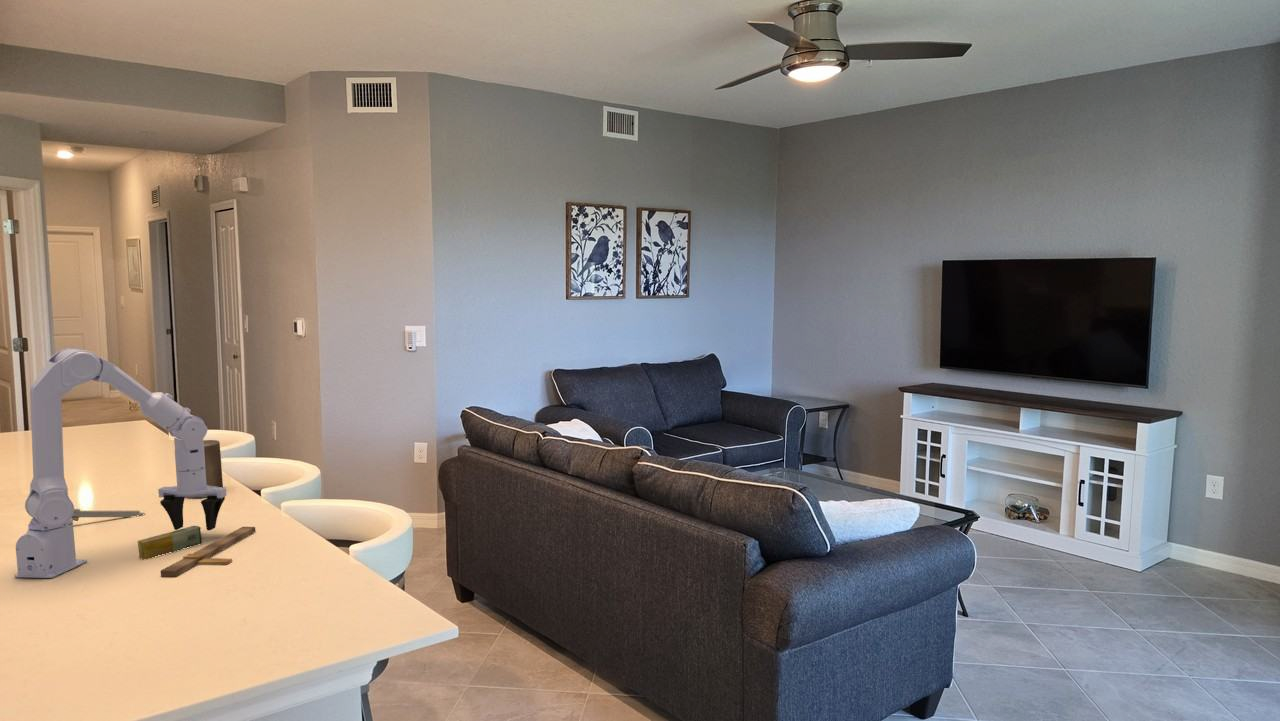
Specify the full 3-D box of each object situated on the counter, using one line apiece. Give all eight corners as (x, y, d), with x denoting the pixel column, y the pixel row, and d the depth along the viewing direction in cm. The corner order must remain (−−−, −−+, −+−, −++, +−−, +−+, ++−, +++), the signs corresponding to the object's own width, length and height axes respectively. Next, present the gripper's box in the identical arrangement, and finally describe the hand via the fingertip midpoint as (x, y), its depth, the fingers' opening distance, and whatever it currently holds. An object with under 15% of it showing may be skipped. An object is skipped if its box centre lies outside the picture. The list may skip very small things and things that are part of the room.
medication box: (196, 542, 182) (194, 524, 181) (203, 544, 180) (201, 526, 180) (138, 559, 172) (136, 540, 171) (144, 561, 170) (143, 541, 170)
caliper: (43, 533, 190) (40, 506, 189) (42, 531, 191) (40, 505, 190) (145, 515, 203) (144, 490, 202) (145, 514, 204) (143, 489, 203)
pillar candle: (231, 489, 226) (227, 435, 224) (209, 499, 216) (204, 442, 215) (197, 489, 227) (193, 435, 225) (174, 499, 217) (169, 442, 216)
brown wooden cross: (205, 577, 160) (204, 570, 159) (160, 576, 160) (159, 569, 160) (280, 532, 187) (280, 525, 187) (242, 531, 188) (242, 525, 188)
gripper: (232, 464, 186) (236, 523, 188) (171, 464, 188) (175, 522, 189) (213, 472, 179) (217, 533, 181) (150, 471, 181) (154, 532, 182)
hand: (194, 528), depth 185 cm, fingers open, 7 cm apart
